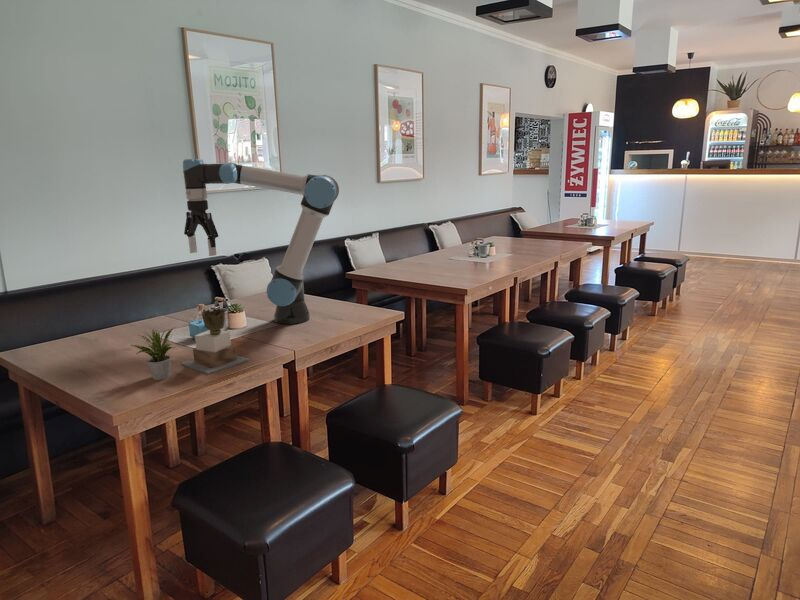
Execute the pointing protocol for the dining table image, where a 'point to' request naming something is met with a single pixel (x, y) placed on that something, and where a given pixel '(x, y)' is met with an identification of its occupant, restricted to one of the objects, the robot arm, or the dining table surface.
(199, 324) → the blue sponge
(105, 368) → the dining table surface
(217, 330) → the olive green rounded piece
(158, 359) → the house plant
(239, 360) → the felt mat
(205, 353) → the block base
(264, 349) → the dining table surface
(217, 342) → the block top
